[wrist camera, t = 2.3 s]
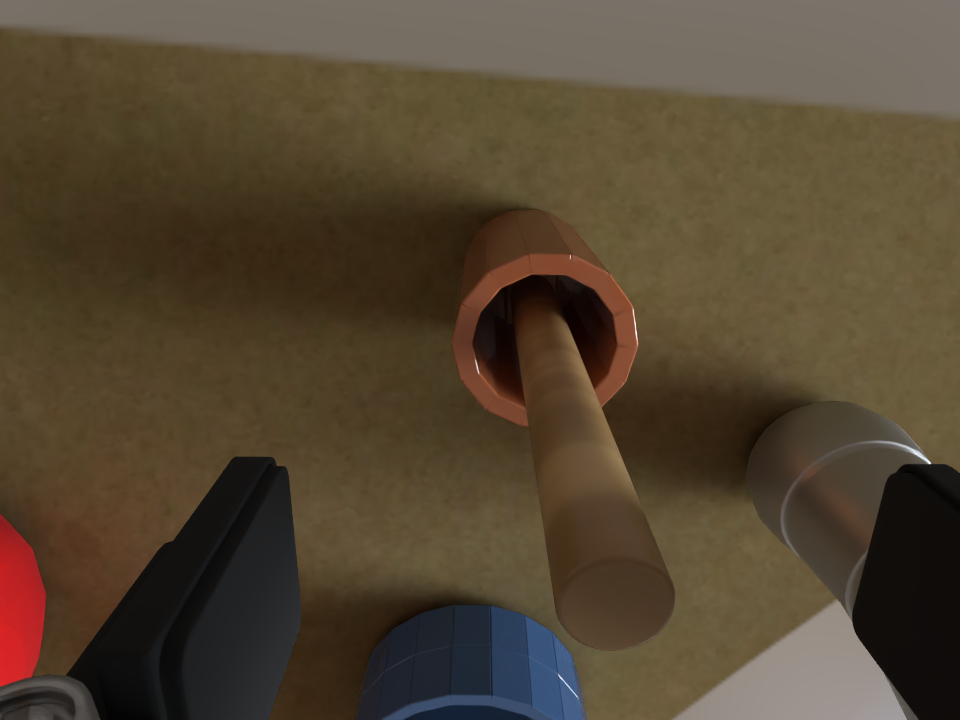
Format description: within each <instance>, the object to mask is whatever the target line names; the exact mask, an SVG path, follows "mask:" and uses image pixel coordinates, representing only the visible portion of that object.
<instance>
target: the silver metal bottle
mask: <svg viewBox="0 0 960 720" xmlns="http://www.w3.org/2000/svg"><path fill="white" fill-rule="evenodd" d="M905 464H931V463H930V462H929V460H928V459H927V457H926V456H925V454H924V453H923V451H922V450H921V449H920V448H919V447H918V445H917V444H916V443H915V442H914V441H913V440H912V439H911V438H910V437H909V435H908V434H907V433H906V432H905V431H904V430H903V429H902V428H901V427H899V426H898V425H897V424H896V423H895V422H893V421H892V420H890V419H888V418H886V417H884V416H882V415H880V414H878V413H876V412H874V411H871V410H869V409H867V408H865V407H862V406H859V405H856V404H853V403H849V402H840V401H827V402H818V403H814V404H810V405H806V406H802V407H799V408H797V409H795V410H792V411H790V412H788V413H786V414H784V415H783V416H781V417H779V418H778V419H776V420H775V421H774V422H773V423H772V424H771V425H770V426H768V427H767V429H766V430H765V431H764V432H763V433H762V435H761V436H760V437H759V439H758V440H757V442H756V444H755V446H754V448H753V449H752V451H751V454H750V457H749V460H748V463H747V473H746V477H747V484H748V489H749V491H750V494H751V497H752V500H753V503H754V506H755V508H756V510H757V513H758V515H759V517H760V518H761V520H762V521H763V522H764V524H765V525H766V526H767V527H768V528H769V529H770V530H771V531H772V533H773V534H774V535H775V536H776V537H777V538H778V539H779V540H780V541H781V542H782V543H783V544H784V545H786V546H787V547H788V548H789V549H791V550H792V551H793V552H794V553H796V554H797V555H798V556H799V557H800V558H802V559H803V560H804V562H805V563H806V564H807V565H808V566H809V567H810V569H811V570H812V571H813V572H814V573H815V574H816V575H817V577H818V578H819V579H820V580H821V581H822V582H823V583H824V585H825V586H826V587H827V588H828V589H829V590H830V591H831V593H832V594H833V595H834V596H835V597H836V598H837V599H838V601H839V602H840V603H841V604H842V606H843V607H844V609H845V611H846V612H847V614H848V616H849V617H850V619H851V620H852V611H853V607H854V603H855V599H856V595H857V592H858V588H859V584H860V580H861V576H862V572H863V568H864V564H865V561H866V557H867V553H868V549H869V545H870V541H871V537H872V534H873V530H874V526H875V522H876V518H877V514H878V510H879V507H880V503H881V499H882V495H883V491H884V487H885V483H886V481H887V478H888V477H889V476H890V475H891V474H893V473H896V472H897V470H898V469H899V468H900V467H901V466H902V465H905ZM884 674H885V673H884ZM885 676H886V675H885ZM886 678H887V676H886ZM887 680H888V682H889V684H890V686H891V688H892V690H893V692H894V694H895V696H896V698H897V700H898V702H899V704H900V706H901V708H902V710H903V712H904V714H905V716H906V718H907V720H918V718H917V717H916V716H915V714H914V713H913V711H912V710H911V709H910V707H909V706H908V705H907V703H906V702H905V701H904V699H903V698H902V697H901V695H900V694H899V692H898V691H897V690H896V688H895V687H894V686H893V684H892V683H891V682H890V680H889V679H888V678H887Z"/></svg>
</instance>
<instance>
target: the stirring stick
mask: <svg viewBox="0 0 960 720" xmlns="http://www.w3.org/2000/svg"><path fill="white" fill-rule="evenodd" d="M557 276H558V275H530V276H527V277H525V278H523V279H521V280H519V281H516V282H514V283H512V284H510V285H507V286H505V287H504V310H505V319H506V323H508V324H513V325H514V331H515V338H516V345H517V352H518V358H519V365H520V372H521V379H522V385H523V392H524V399H525V406H526V412H527V419H528V426H529V433H530V440H531V446H532V453H533V460H534V467H535V473H536V480H537V487H538V494H539V500H540V507H541V514H542V521H543V527H544V534H545V541H546V548H547V554H548V561H549V568H550V575H551V581H552V588H553V595H554V602H555V608H556V614H557V616H558V619H559V621H560V623H561V625H562V626H563V627H564V629H565V630H566V631H567V632H568V633H569V634H570V635H571V636H572V637H573V638H574V639H576V640H577V641H578V642H580V643H582V644H584V645H586V646H589V647H592V648H595V649H600V650H608V651H616V650H625V649H629V648H633V647H636V646H639V645H641V644H643V643H645V642H647V641H649V640H651V639H652V638H653V637H655V636H656V635H657V634H658V633H659V632H660V631H661V630H662V629H663V628H664V627H665V626H666V624H667V623H668V621H669V619H670V617H671V615H672V612H673V608H674V603H675V590H674V586H673V583H672V581H671V578H670V576H669V573H668V571H667V568H666V566H665V563H664V561H663V558H662V556H661V553H660V551H659V549H658V546H657V544H656V541H655V539H654V536H653V534H652V531H651V529H650V526H649V524H648V521H647V519H646V516H645V514H644V512H643V509H642V507H641V504H640V502H639V499H638V497H637V494H636V492H635V489H634V487H633V484H632V482H631V480H630V477H629V475H628V472H627V470H626V467H625V465H624V462H623V460H622V457H621V455H620V452H619V450H618V447H617V445H616V443H615V440H614V438H613V435H612V433H611V430H610V428H609V425H608V423H607V420H606V418H605V415H604V413H603V411H602V408H601V406H600V403H599V401H598V398H597V396H596V393H595V391H594V388H593V386H592V383H591V381H590V379H589V376H588V374H587V371H586V369H585V366H584V364H583V361H582V359H581V356H580V354H579V351H578V349H577V346H576V344H575V342H574V339H573V337H572V334H571V332H570V329H569V327H568V324H567V322H566V319H565V317H564V314H563V312H562V310H561V307H560V305H559V302H558V300H557V297H556V293H557Z"/></svg>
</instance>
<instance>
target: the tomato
mask: <svg viewBox="0 0 960 720" xmlns="http://www.w3.org/2000/svg"><path fill="white" fill-rule="evenodd" d="M45 604H46V592H45V589H44V585H43V582H42V579H41V575H40V572H39V569H38V565H37V562H36V558H35V555H34V552H33V549H32V547H31V546H30V545H29V544H28V543H27V542H26V541H25V540H24V539H23V537H22V536H21V535H20V534H19V533H18V532H17V531H16V530H15V529H14V528H13V526H12V525H11V524H10V523H9V522H8V521H7V520H6V519H5V518H4V517H3V515H1V514H0V687H1V686H4V685H7V684H10V683H13V682H15V681H18V680H21V679H24V678H29V677H32V675H33V673H34V670H35V667H36V665H37V662H38V659H39V656H40V649H41V642H42V635H43V626H44V615H45Z"/></svg>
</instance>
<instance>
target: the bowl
mask: <svg viewBox="0 0 960 720" xmlns="http://www.w3.org/2000/svg"><path fill="white" fill-rule="evenodd" d="M354 720H587V719H586V713H585V707H584V701H583V695H582V690H581V684H580V679H579V676H578V673H577V670H576V667H575V664H574V661H573V658H572V655H571V654H570V652H569V651H568V650H567V649H566V648H565V647H564V645H563V644H562V643H561V642H560V641H559V639H558V638H557V637H556V636H555V635H554V633H553V632H551V631H550V630H548V629H547V628H545V627H544V626H542V625H540V624H539V623H537V622H535V621H534V620H532V619H531V618H529V617H527V616H526V615H524V614H521V613H517V612H514V611H510V610H507V609H503V608H499V607H496V606H492V605H491V606H490V605H455V606H454V605H450V606H446V607H442V608H438V609H434V610H430V611H426V612H422V613H420V614H418V615H416V616H414V617H413V618H411V619H409V620H407V621H406V622H404V623H402V624H401V625H399V626H397V627H395V628H394V629H393V630H391V631H390V632H389V633H388V634H387V635H386V636H385V637H384V639H383V640H382V641H381V642H380V643H379V644H378V645H377V646H376V648H375V649H374V650H373V651H372V653H371V655H370V658H369V661H368V663H367V666H366V669H365V672H364V674H363V678H362V682H361V687H360V692H359V696H358V701H357V706H356V710H355V715H354Z"/></svg>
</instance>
